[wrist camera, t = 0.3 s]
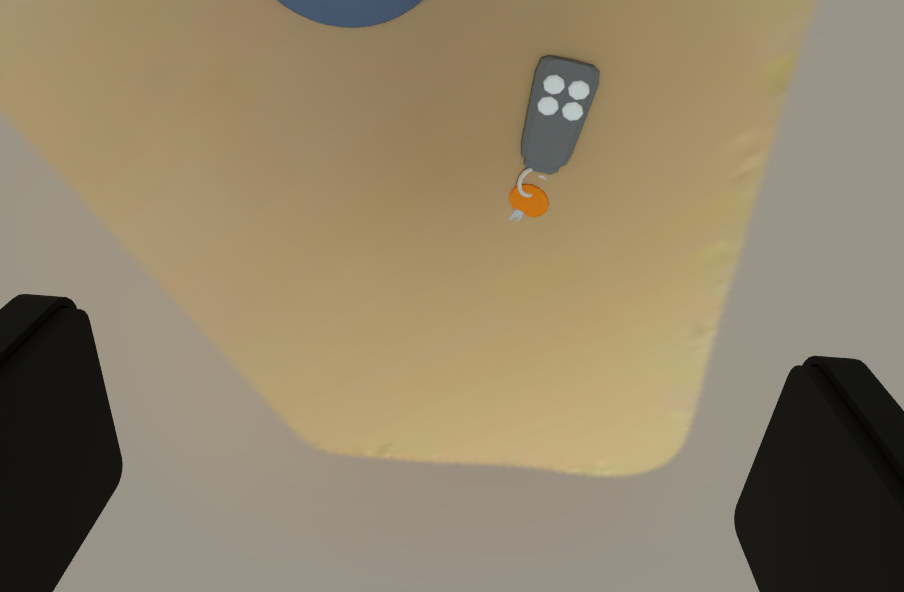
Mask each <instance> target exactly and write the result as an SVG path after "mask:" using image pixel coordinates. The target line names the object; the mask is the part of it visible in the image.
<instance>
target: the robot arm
mask: <svg viewBox="0 0 904 592" xmlns="http://www.w3.org/2000/svg"><path fill="white" fill-rule="evenodd" d="M121 473H122V456H121V452H120V448H119V444H118V439H117V435H116V431H115V426H114V422H113V418H112V414H111V409H110V405H109V401H108V397H107V393H106V388H105V384H104V380H103V375H102V371H101V367H100V363H99V358H98V354H97V350H96V345H95V341H94V337H93V333H92V329H91V324H90V320H89V317H88V315H87V314H86V312H85V311H83V310H81V309H77V307H76V305H75V304H74V302H73V301H72V300H71V299H69V298H67V297H57V296H43V295H31V294H21V295H18V296H16V297H15V298H13V299H12V300H11V301H10V302H8V303H7V304H6V305H5V306H4V307H3V308H1V309H0V592H53V590H54V589H55V587H56V585H57V584H58V582H59V581H60V579H61V577H62V576H63V574H64V572H65V571H66V569H67V567H68V566H69V564H70V563H71V561H72V559H73V558H74V556H75V554H76V553H77V551H78V549H79V548H80V546H81V545H82V543H83V542H84V540H85V538H86V537H87V535H88V533H89V532H90V530H91V528H92V527H93V525H94V524H95V522H96V520H97V518H98V517H99V515H100V514H101V512H102V510H103V509H104V507H105V506H106V504H107V502H108V501H109V499H110V498H111V496H112V494H113V493H114V491H115V489H116V487H117V486H118V484H119V481H120V478H121ZM734 522H735V530H736V533H737V537H738V539H739V542H740V544H741V547H742V549H743V551H744V554H745V556H746V559H747V561H748V564H749V566H750V569H751V571H752V574H753V576H754V579H755V581H756V584H757V586H758V589H759V591H760V592H904V411H903V410H902V408H901V407H900V406H899V405H898V404H897V402H896V401H895V400H894V399H893V397H892V396H891V395H890V394H889V393H888V391H887V390H886V389H885V388H884V386H883V385H882V384H881V383H880V382H879V380H878V379H877V378H876V377H875V376H874V374H873V373H872V372H871V371H870V369H868V367H867V366H866V365H865V364H864V363H863V362H862V361H860V360H857V359H849V358H836V357H823V356H812V357H809V358H808V359H807V360H806V361H805V362H804V363H803V365H802V366H800V365H798V366H795V367H793V368H792V369H791V371H790V373H789V375H788V377H787V379H786V382H785V384H784V387H783V389H782V392H781V395H780V397H779V400H778V402H777V404H776V407H775V410H774V412H773V415H772V417H771V420H770V422H769V425H768V427H767V430H766V432H765V435H764V437H763V440H762V442H761V445H760V447H759V450H758V452H757V455H756V458H755V460H754V463H753V465H752V468H751V470H750V473H749V475H748V478H747V480H746V483H745V485H744V488H743V490H742V493H741V496H740V498H739V500H738V503H737V505H736V509H735V515H734Z"/></svg>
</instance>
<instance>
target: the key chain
mask: <svg viewBox="0 0 904 592" xmlns="http://www.w3.org/2000/svg"><path fill="white" fill-rule="evenodd" d="M599 74H600V72H599V70H598V69H597V68H596V67H595V66H593V65H592V64H588V63H584V62H580V61H577V60H573V59H568V58H563V57H558V56H552V55H548V56H544V57H541V59H540V61H539V63H538V66H537V68H536V70H535V75H534V80H533V85H532V90H531V95H530V100H529V105H528V110H527V115H526V120H525V126H524V131H523V136H522V143H521V155H522V156H523V157H524V158H525V160H524V165H525V166H526V167H527V169H526V170H524V171H523V172H522V174H521V175H520V176H519V179H518V182H517V184H518V186H516V187H515V188H513V189H512V190H511V193H510V195H509V198H510V204H511V205H512V206H513V208H514V209H515V211H514V212H513V213H512V215H511V216H510V218H509V220H510V221H511V220H512V219H513V217H516V218H518V219H517V220H516V222H518V221H519V220H520V218H521V217H522V216H523V214H525V215H527V216H530V217H537V216H541V215H542V214H543V213H545V212H546V210H547V208H548V198H547V197H546V195H545V193H544V192H543V191H542V190H541V189H540V188H538V187H536V186H533V185H531V184H522V181H523V178H524V177H525V176H526V174H527V173H529V172H531V171H537V172H542V173H546V174H553V173H557V172H558V170H559V167H561V166H564V165H566V164H567V162H568V160H569V158H570V157H571V155H572V153H573V150H574V148H575V145H576V142H577V140H578V137H579V135H580V132H581V129H582V127H583V124H584V122H585V119H586V116H587V114H588V111H589V108H590V106H591V103H592V100H593V98H594V95H595V92H596V90H597V87H598V82H599ZM538 177H540V178H543V179H545V180H546V178H545V177H544V176H538Z"/></svg>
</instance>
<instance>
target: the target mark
mask: <svg viewBox="0 0 904 592" xmlns="http://www.w3.org/2000/svg"><path fill="white" fill-rule="evenodd" d="M278 1H279V2H280V3H281V4H283V5H284V6H286V7H287V8H289V9H291V10H292V11H294V12H295V13H297V14H299V15H301V16H304V17H306V18H308V19H310V20H313V21H316V22H319V23H323V24H326V25H332V26H338V27H364V26H372V25H376V24H380V23H383V22H386V21H389V20H391V19H394V18H396V17H398V16H400V15H402V14H404V13H405V12H407V11H409V10H410V9H412V8H413V7H414V6H416V5H417V4H418V3H419V2H421V1H422V0H278Z"/></svg>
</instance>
